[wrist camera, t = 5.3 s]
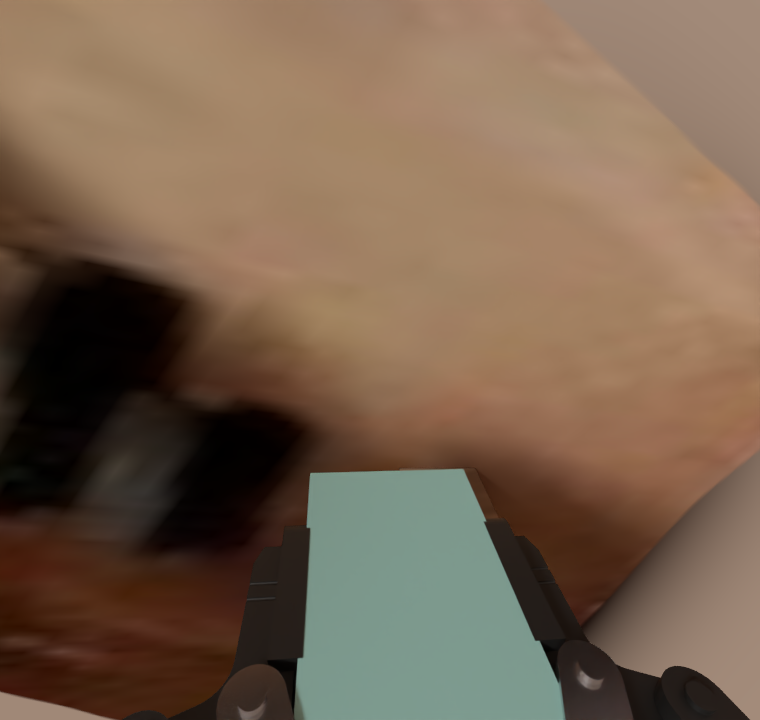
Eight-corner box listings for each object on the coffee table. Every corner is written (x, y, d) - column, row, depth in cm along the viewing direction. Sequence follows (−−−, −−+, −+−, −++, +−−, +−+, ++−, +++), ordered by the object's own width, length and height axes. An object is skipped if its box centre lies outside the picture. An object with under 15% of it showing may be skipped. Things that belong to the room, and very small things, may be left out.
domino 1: (310, 472, 13) (277, 948, 5) (463, 468, 14) (650, 890, 6) (311, 525, 14) (285, 1001, 6) (454, 519, 15) (606, 945, 7)
